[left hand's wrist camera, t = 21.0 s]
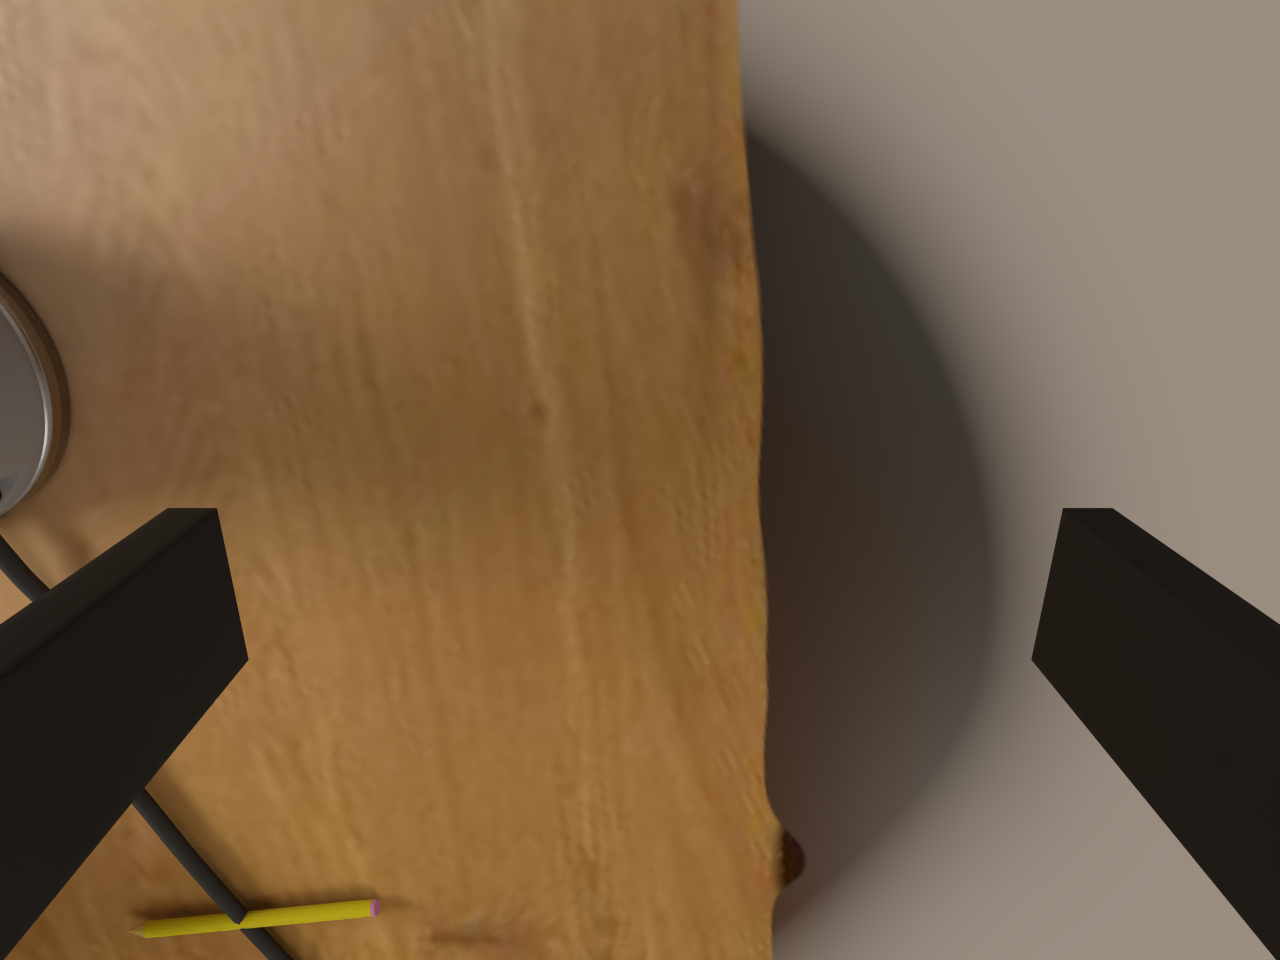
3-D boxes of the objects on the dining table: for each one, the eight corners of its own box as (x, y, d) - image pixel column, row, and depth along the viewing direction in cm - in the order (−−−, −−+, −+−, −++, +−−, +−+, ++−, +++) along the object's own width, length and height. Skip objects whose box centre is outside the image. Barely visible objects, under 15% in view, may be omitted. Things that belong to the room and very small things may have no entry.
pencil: (377, 894, 50) (372, 908, 49) (381, 906, 50) (376, 919, 50) (128, 919, 51) (118, 932, 50) (133, 930, 51) (124, 944, 50)
